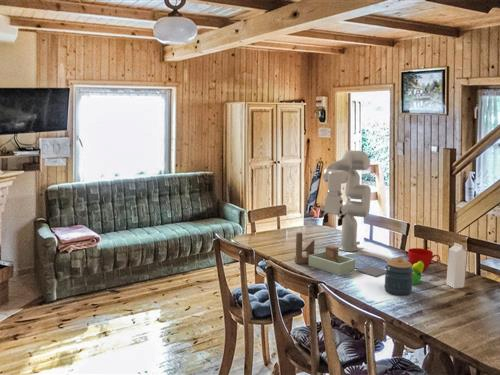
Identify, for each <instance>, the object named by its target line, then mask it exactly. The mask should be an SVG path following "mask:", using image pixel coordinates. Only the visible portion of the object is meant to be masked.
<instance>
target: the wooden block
mask: <svg viewBox="0 0 500 375" xmlns="http://www.w3.org/2000/svg"><path fill="white" fill-rule="evenodd" d="M295 234H296V236H295V256H294V263H295V264H297V265H299V264H308V262H309V255H311V254H315V238H313V237H312V238H311V239H310V240H308V241H307V243H306V244H305V245H304V246H303V232H300V231H299V232H296V233H295ZM305 252H306V255H303V253H305Z"/></svg>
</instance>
